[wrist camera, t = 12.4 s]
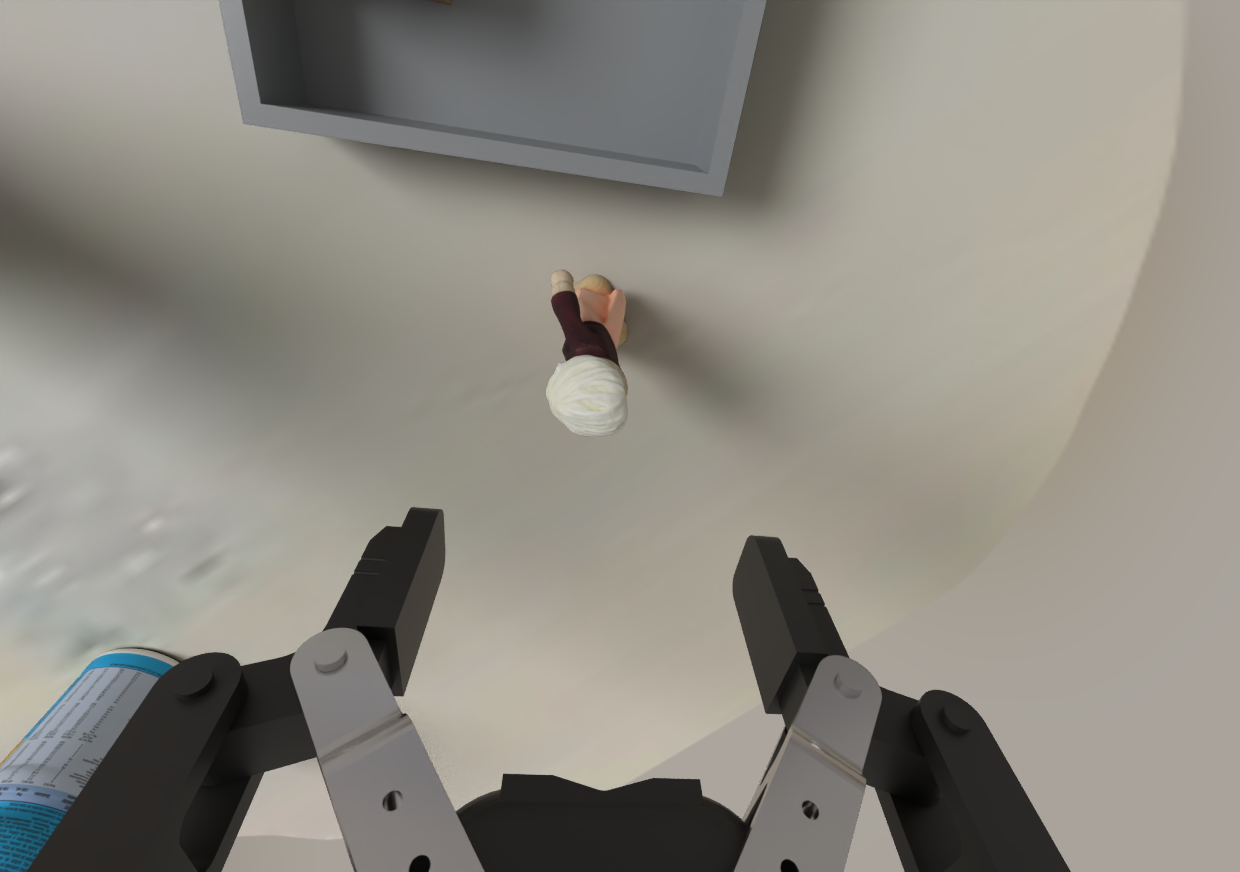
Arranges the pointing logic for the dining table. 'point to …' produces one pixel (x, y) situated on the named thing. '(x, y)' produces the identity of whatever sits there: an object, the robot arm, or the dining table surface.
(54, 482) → the dining table surface
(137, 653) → the blue labelled canister
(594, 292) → the grandmother figurine
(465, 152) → the tote
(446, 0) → the walnut block
